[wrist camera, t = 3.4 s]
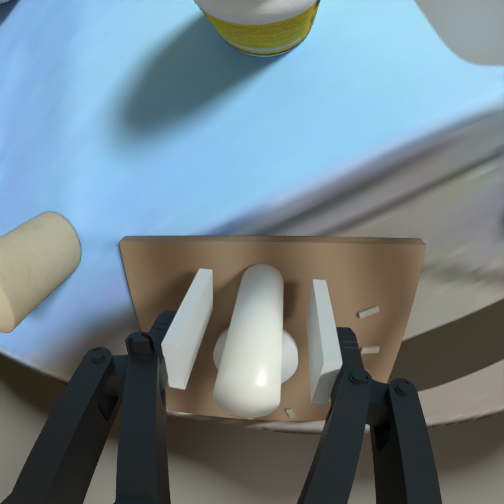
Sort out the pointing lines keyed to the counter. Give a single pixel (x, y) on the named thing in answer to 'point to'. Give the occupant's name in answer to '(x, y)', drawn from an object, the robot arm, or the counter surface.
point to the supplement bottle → (261, 23)
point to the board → (294, 300)
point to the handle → (255, 347)
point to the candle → (34, 264)
